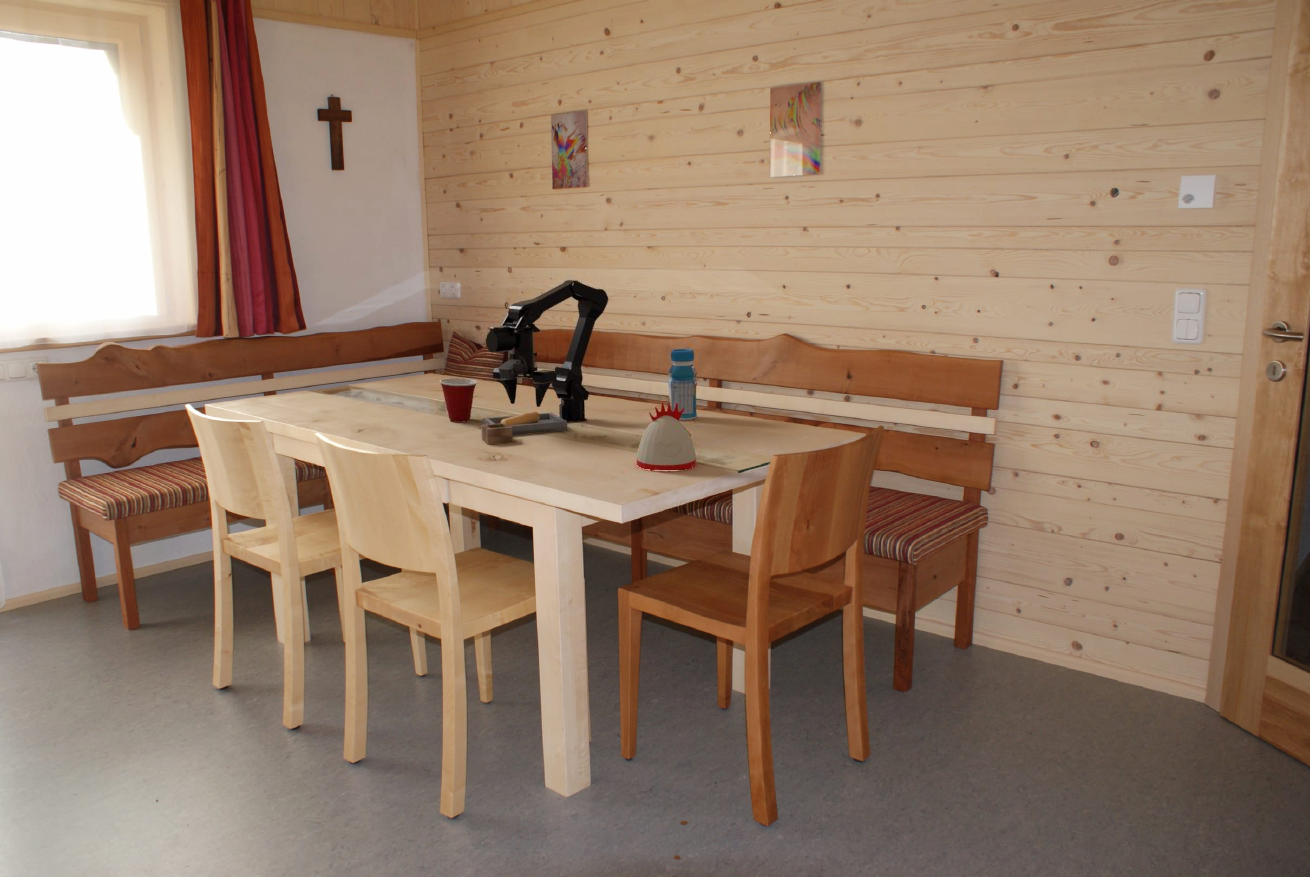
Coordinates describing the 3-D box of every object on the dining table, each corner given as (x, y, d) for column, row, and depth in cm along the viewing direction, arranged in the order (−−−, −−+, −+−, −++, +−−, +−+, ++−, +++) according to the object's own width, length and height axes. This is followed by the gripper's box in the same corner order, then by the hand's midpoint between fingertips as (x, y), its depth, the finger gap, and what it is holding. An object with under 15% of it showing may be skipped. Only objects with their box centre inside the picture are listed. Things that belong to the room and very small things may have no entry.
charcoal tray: (551, 421, 283) (551, 412, 282) (567, 430, 269) (567, 421, 268) (483, 426, 275) (483, 418, 275) (496, 436, 262) (495, 427, 261)
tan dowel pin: (533, 409, 276) (502, 416, 265) (541, 414, 275) (510, 422, 264) (530, 418, 277) (499, 426, 267) (537, 423, 276) (507, 431, 265)
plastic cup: (471, 424, 279) (468, 383, 276) (435, 423, 281) (433, 382, 278) (484, 417, 289) (483, 377, 287) (450, 416, 291) (448, 376, 289)
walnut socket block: (506, 437, 260) (505, 422, 260) (512, 442, 254) (512, 427, 254) (482, 439, 258) (481, 424, 257) (487, 444, 252) (487, 429, 251)
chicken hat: (699, 471, 222) (699, 406, 219) (639, 473, 221) (638, 408, 218) (692, 457, 236) (691, 396, 233) (635, 459, 235) (634, 397, 232)
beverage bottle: (680, 422, 279) (679, 352, 275) (662, 417, 286) (661, 349, 281) (703, 418, 284) (703, 350, 280) (685, 414, 290) (684, 347, 286)
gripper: (477, 350, 266) (480, 406, 270) (530, 354, 257) (533, 412, 260) (505, 346, 276) (507, 400, 279) (557, 350, 266) (558, 406, 269)
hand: (525, 405), depth 271 cm, fingers open, 9 cm apart
